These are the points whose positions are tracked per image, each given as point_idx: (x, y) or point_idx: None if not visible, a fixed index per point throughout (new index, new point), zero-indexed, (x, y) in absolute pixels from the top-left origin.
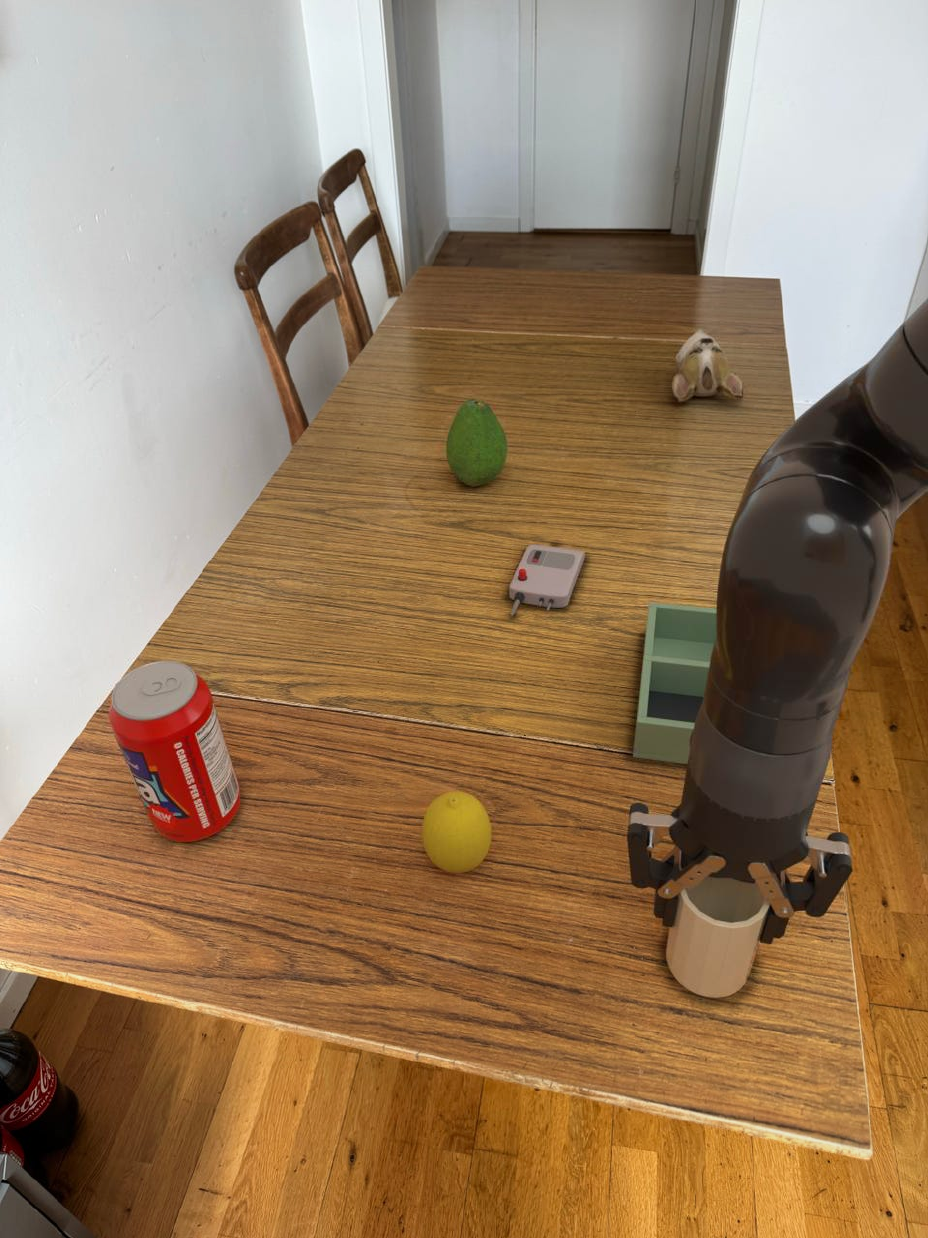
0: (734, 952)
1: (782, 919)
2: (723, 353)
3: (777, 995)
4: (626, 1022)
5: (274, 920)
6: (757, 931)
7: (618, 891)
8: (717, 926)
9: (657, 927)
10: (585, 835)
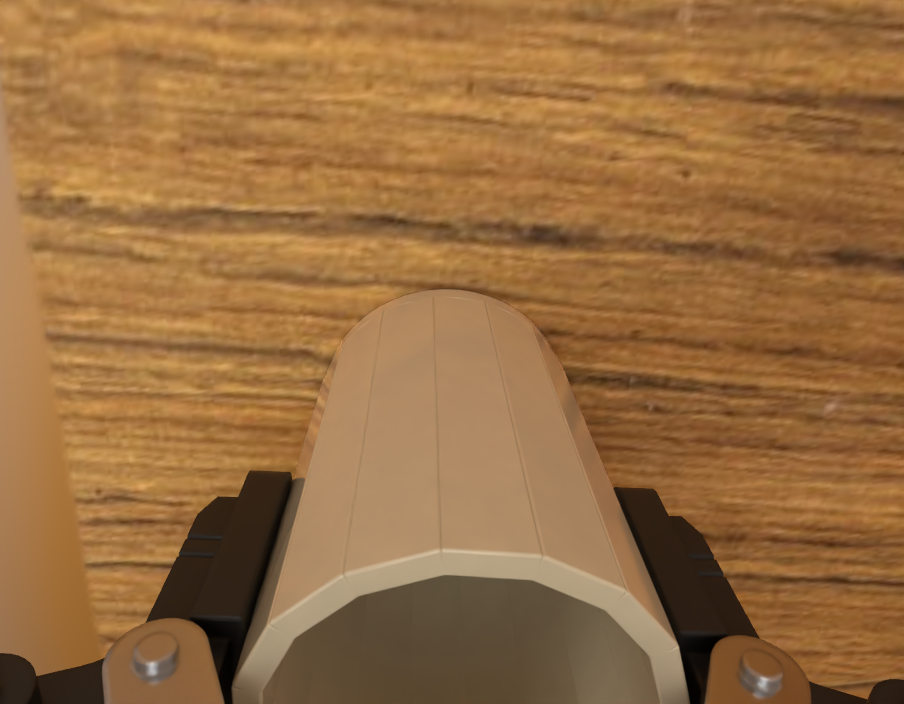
0: (398, 424)
1: (187, 594)
2: None
3: (245, 321)
4: (706, 178)
5: None
6: (300, 531)
7: None
8: (517, 546)
9: None
10: None
